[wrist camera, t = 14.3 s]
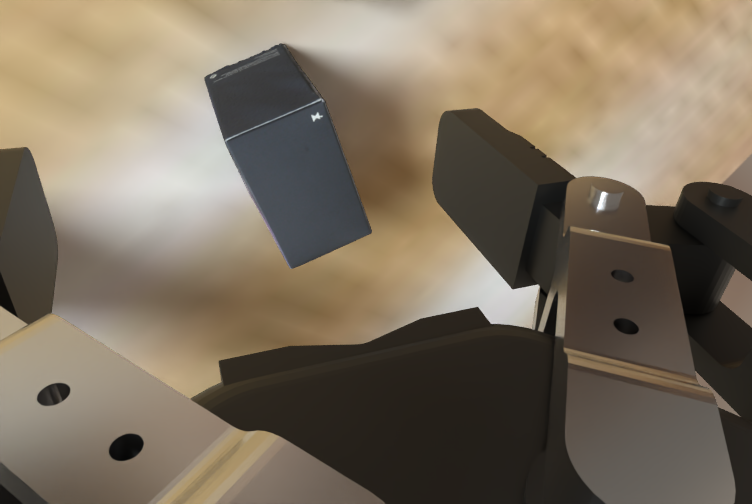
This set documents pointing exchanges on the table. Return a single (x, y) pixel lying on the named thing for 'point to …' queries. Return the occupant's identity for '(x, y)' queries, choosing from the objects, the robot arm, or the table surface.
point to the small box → (288, 154)
